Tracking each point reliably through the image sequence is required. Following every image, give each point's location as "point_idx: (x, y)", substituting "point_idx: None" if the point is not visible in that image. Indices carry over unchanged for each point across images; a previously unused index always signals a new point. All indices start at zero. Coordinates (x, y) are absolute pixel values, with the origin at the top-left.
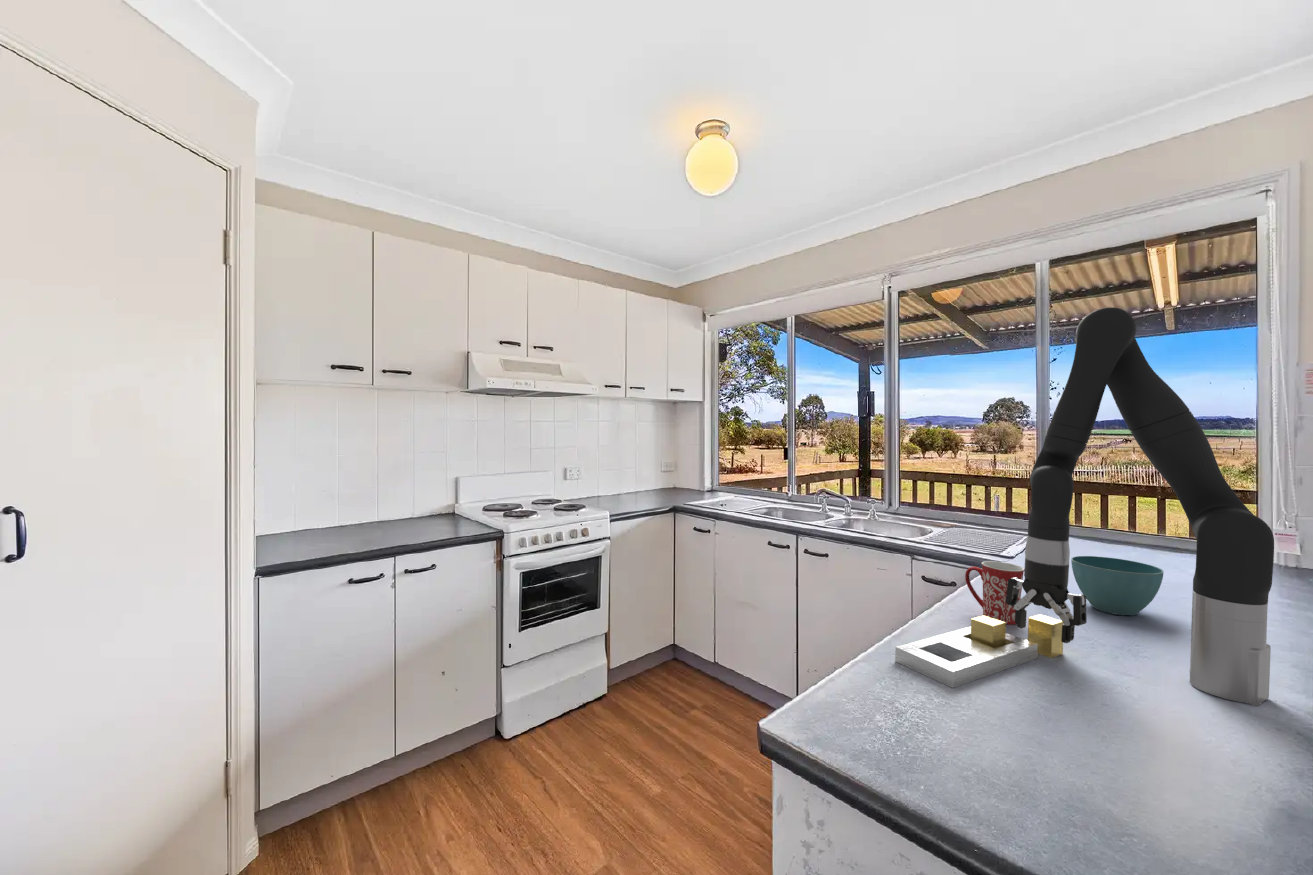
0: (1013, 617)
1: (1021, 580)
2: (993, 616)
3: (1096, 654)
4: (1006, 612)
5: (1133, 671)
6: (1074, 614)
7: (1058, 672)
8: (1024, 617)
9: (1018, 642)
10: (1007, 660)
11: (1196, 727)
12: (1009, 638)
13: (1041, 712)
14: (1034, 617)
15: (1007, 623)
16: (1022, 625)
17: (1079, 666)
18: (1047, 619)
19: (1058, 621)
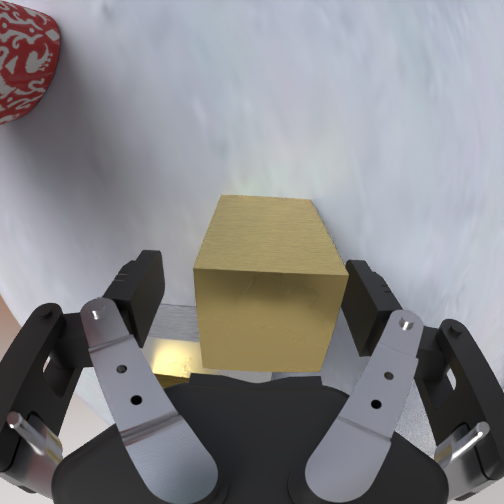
0: (39, 64)
1: (35, 490)
2: (8, 121)
3: (384, 89)
4: (13, 96)
5: (476, 166)
6: (430, 410)
7: (342, 345)
8: (146, 291)
9: (236, 376)
10: None
11: (500, 339)
12: (202, 368)
13: None
14: (216, 349)
15: (46, 87)
16: (160, 282)
17: (375, 265)
18: (274, 327)
19: (329, 309)
